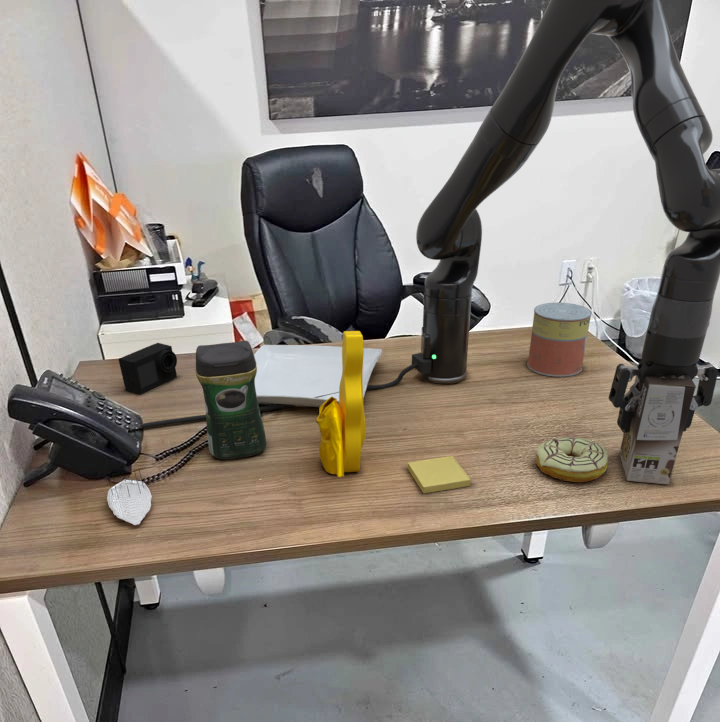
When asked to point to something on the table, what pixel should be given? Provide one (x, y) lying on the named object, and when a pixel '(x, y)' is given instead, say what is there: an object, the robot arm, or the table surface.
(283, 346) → the square plate
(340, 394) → the figure statuette
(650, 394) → the coffee box
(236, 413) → the coffee jar
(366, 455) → the table surface
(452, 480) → the sticky note pad
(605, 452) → the decorated donut
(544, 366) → the canned food
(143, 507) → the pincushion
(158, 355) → the digital camera
